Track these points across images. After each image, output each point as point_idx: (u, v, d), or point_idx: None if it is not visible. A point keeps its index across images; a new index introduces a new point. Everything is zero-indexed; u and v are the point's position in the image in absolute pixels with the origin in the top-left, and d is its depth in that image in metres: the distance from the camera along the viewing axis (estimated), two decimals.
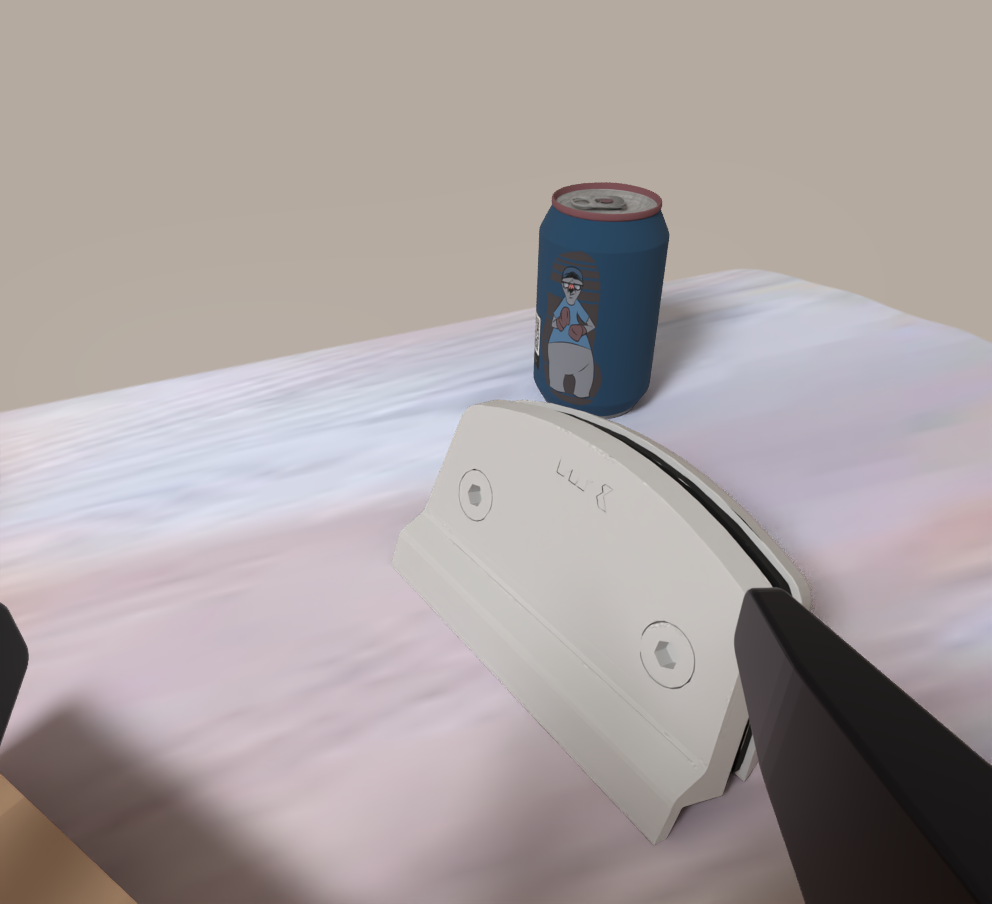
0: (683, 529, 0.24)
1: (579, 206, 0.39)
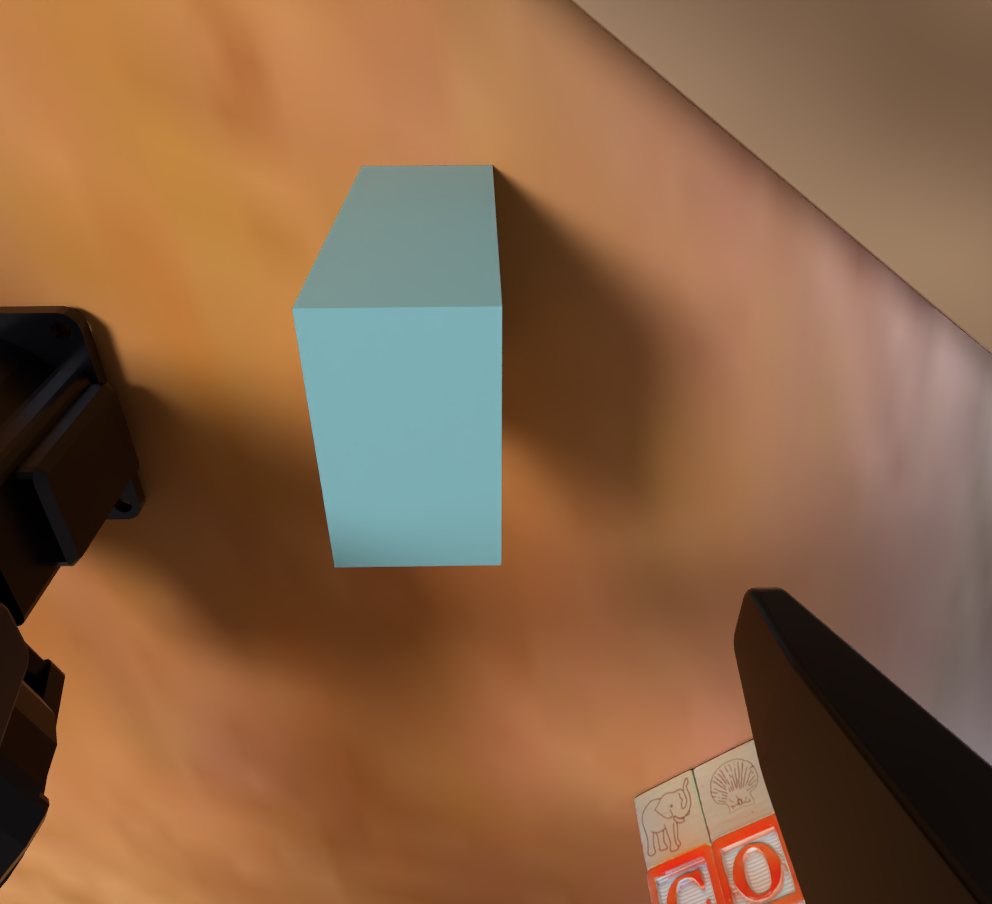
0: None
1: None
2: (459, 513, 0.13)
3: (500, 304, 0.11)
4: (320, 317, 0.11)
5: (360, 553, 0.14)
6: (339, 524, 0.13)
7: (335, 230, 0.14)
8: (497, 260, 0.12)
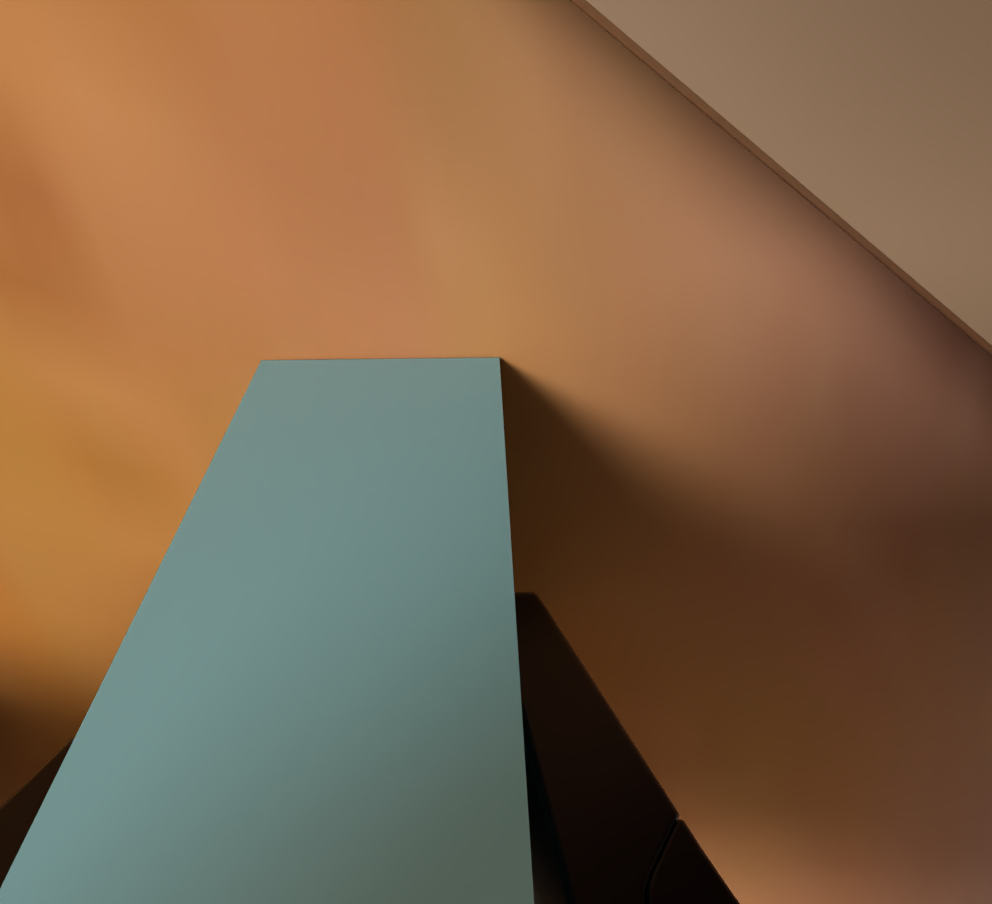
0: None
1: None
2: None
3: None
4: None
5: None
6: None
7: (137, 634, 0.06)
8: (525, 827, 0.05)
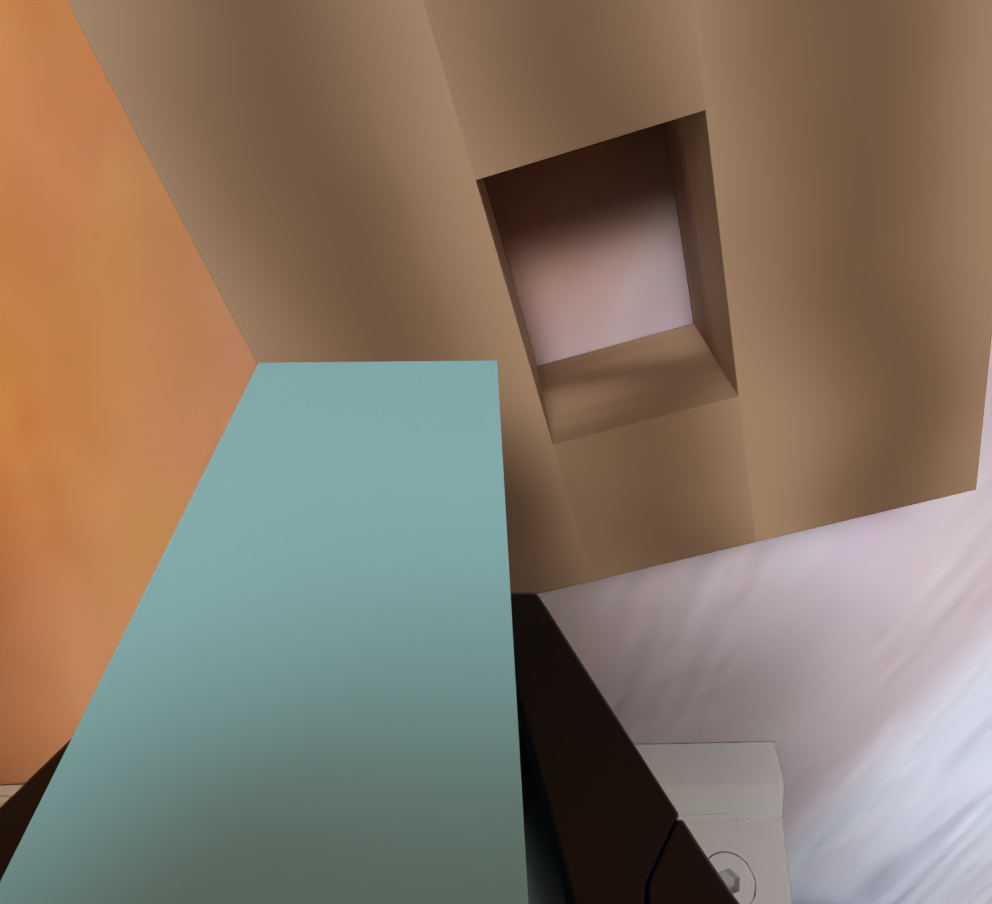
0: None
1: None
2: None
3: None
4: None
5: None
6: None
7: (132, 640, 0.06)
8: (520, 834, 0.05)
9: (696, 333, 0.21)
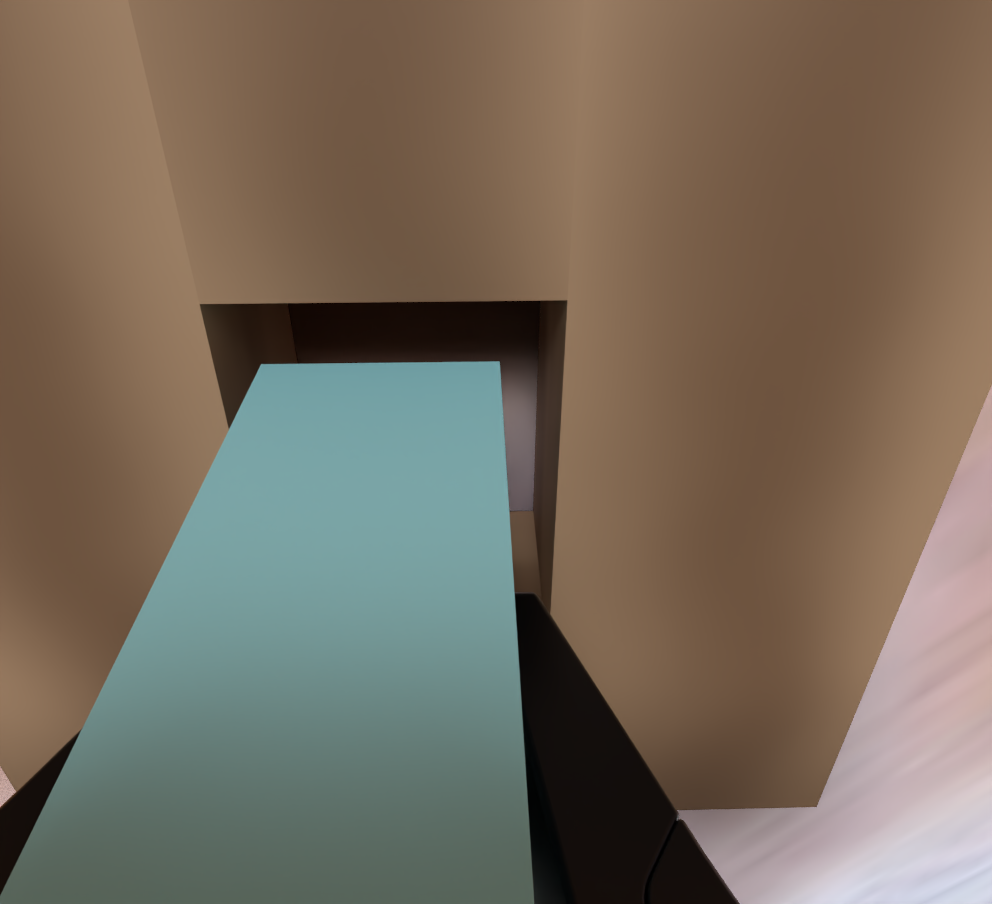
0: None
1: None
2: None
3: None
4: None
5: None
6: None
7: (136, 642, 0.06)
8: (526, 837, 0.05)
9: (531, 528, 0.16)
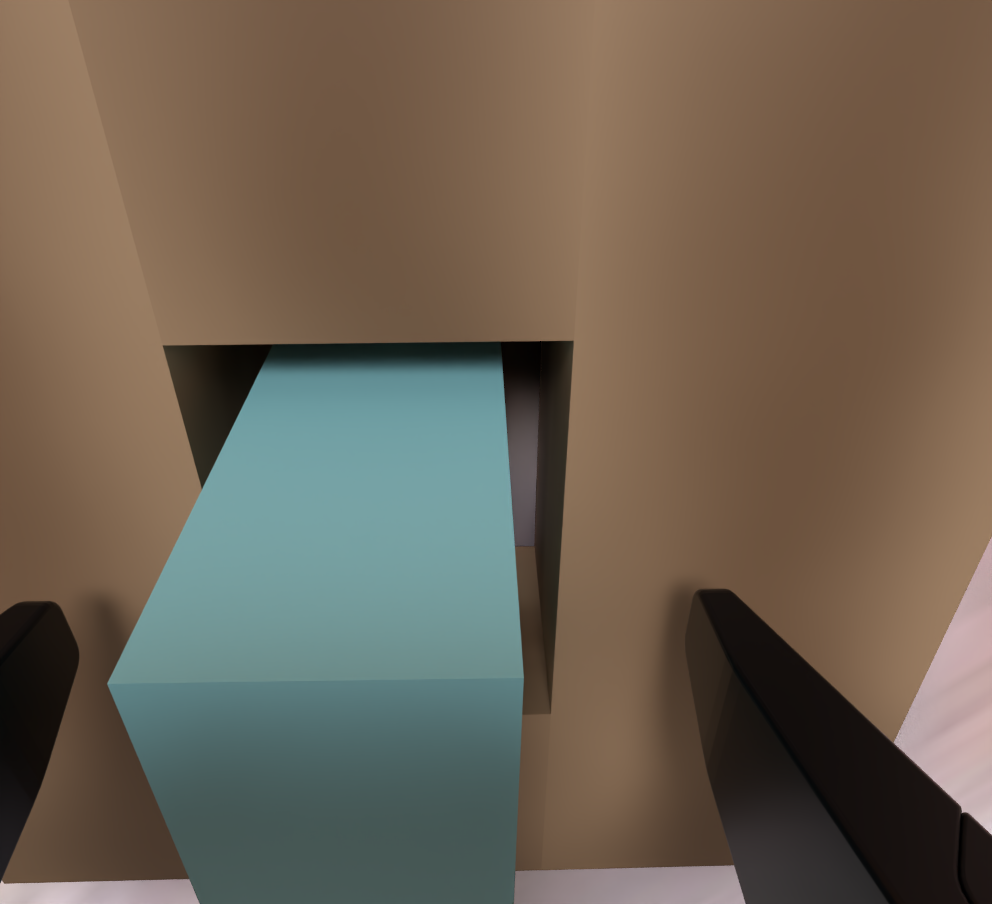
0: None
1: None
2: None
3: (520, 669, 0.06)
4: (165, 694, 0.06)
5: None
6: None
7: (240, 427, 0.08)
8: (510, 517, 0.07)
9: (532, 565, 0.15)
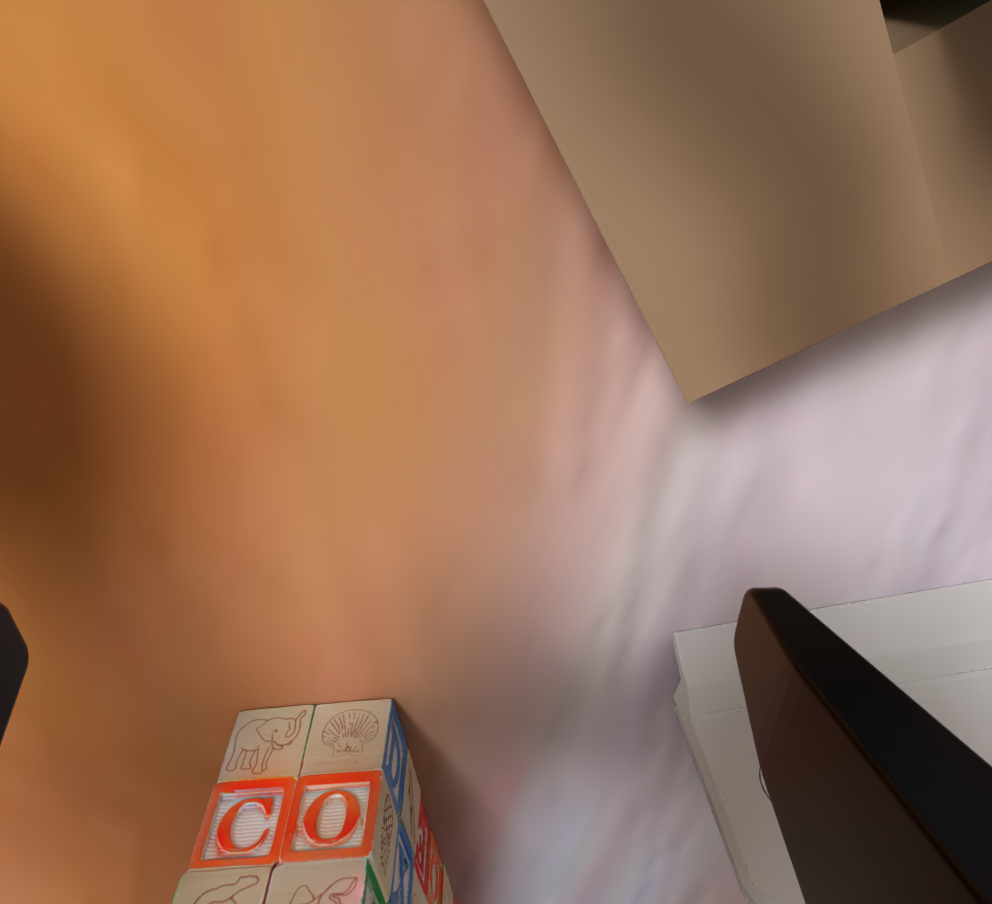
0: None
1: None
2: None
3: None
4: None
5: None
6: None
7: None
8: None
9: None
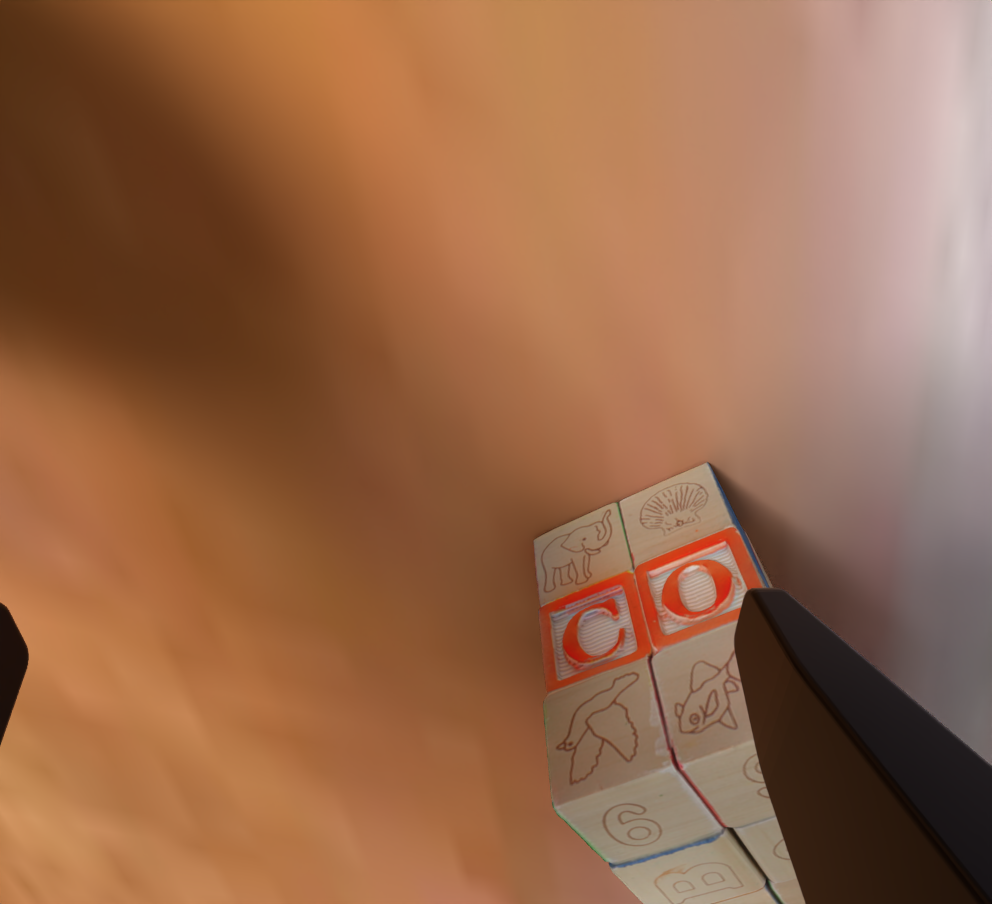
0: None
1: None
2: None
3: None
4: None
5: None
6: None
7: None
8: None
9: None
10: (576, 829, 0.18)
